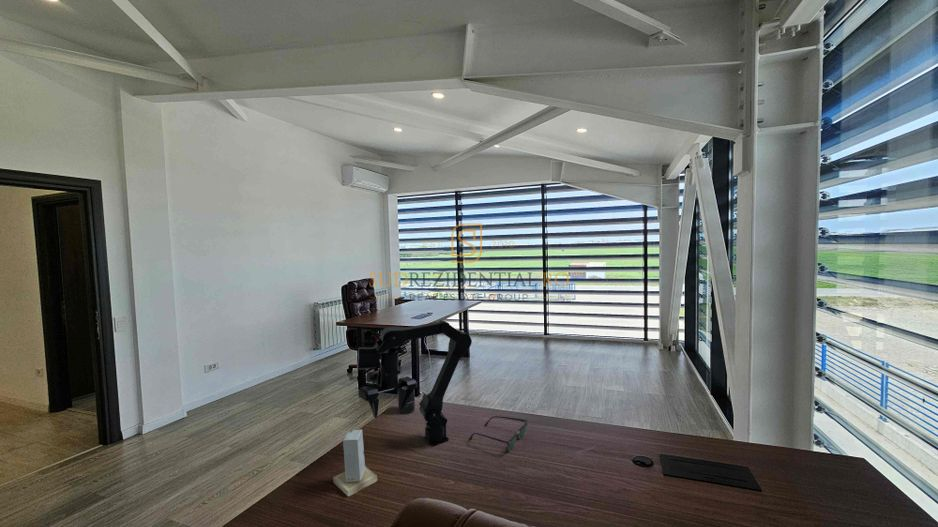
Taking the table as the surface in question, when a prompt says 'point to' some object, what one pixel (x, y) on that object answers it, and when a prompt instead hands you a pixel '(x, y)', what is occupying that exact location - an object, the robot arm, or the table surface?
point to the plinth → (354, 487)
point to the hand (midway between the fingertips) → (388, 413)
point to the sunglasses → (512, 441)
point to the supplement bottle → (408, 404)
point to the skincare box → (354, 456)
